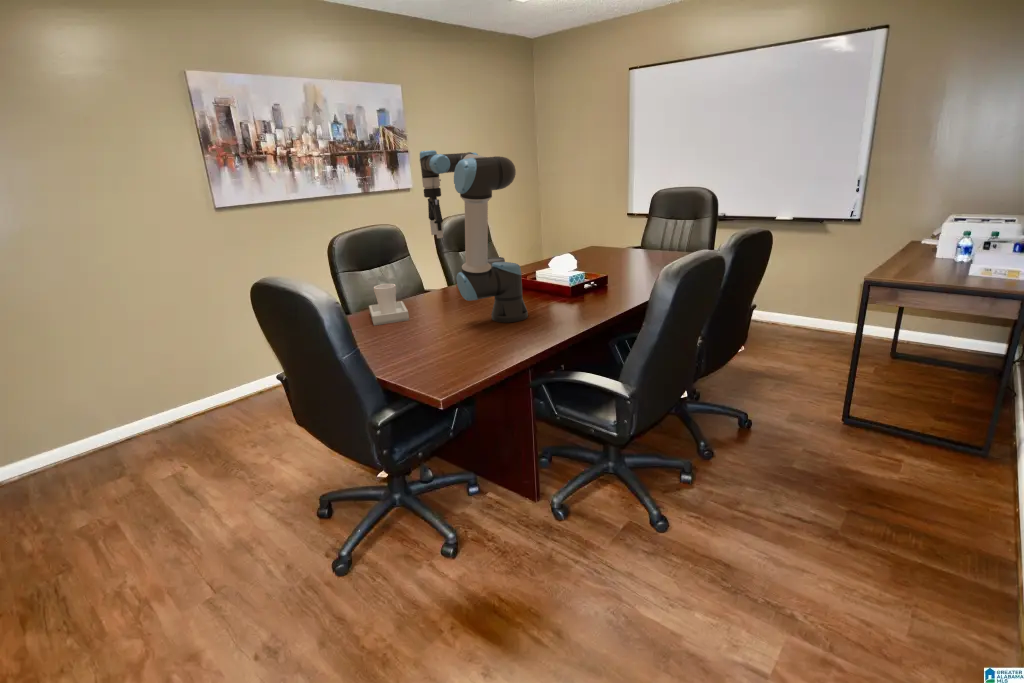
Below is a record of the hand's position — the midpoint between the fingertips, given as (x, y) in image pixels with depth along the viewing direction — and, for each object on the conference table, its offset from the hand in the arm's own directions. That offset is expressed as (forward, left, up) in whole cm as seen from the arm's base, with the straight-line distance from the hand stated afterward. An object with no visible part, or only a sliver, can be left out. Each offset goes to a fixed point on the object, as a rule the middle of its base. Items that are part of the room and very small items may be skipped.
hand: (437, 236), depth 239 cm
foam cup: (-9, +27, -31) cm, 42 cm away
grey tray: (-9, +27, -32) cm, 43 cm away
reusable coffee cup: (+17, -30, -32) cm, 47 cm away
